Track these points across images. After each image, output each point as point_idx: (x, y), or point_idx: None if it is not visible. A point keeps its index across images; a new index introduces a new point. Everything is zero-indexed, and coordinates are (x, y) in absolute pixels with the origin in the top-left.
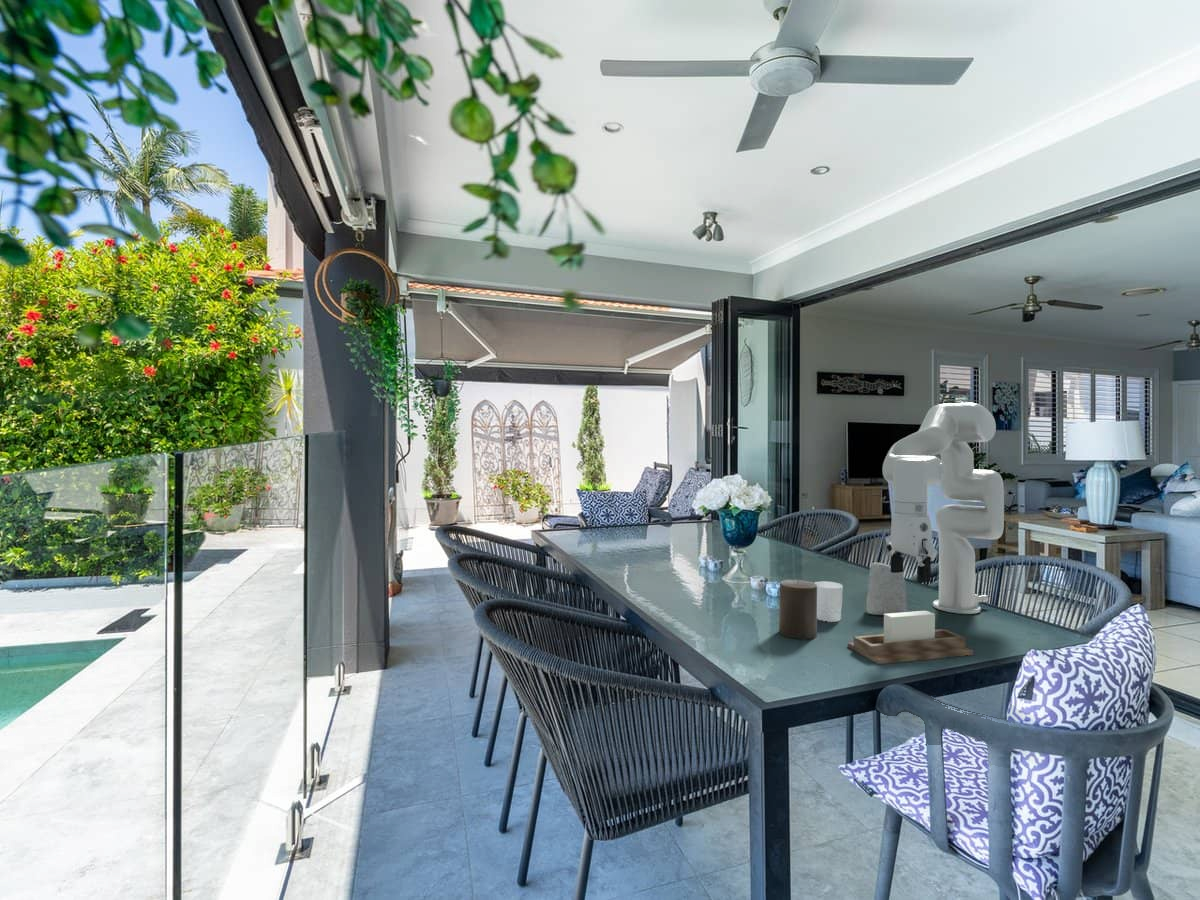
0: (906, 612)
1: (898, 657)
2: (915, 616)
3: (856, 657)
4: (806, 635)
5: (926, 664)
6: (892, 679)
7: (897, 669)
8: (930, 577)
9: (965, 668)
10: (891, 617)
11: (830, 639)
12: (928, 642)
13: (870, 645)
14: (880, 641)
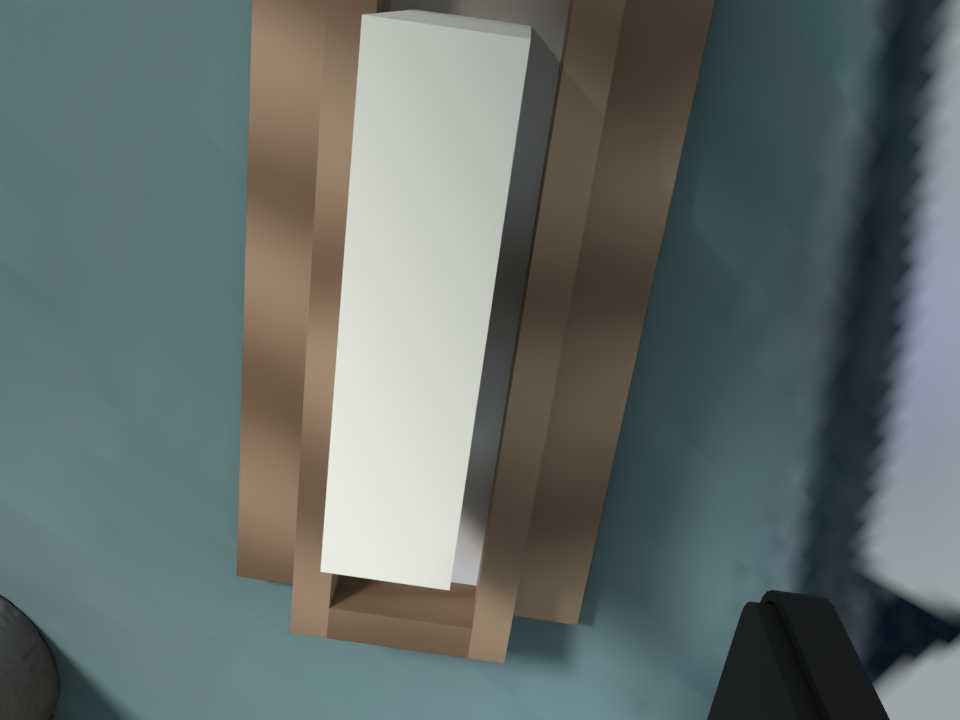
0: (354, 328)
1: (598, 483)
2: (488, 321)
3: None
4: (45, 708)
5: (719, 335)
6: None
7: (693, 565)
8: (858, 663)
9: (922, 129)
10: (445, 588)
11: (83, 560)
12: (591, 183)
13: (491, 658)
14: None
